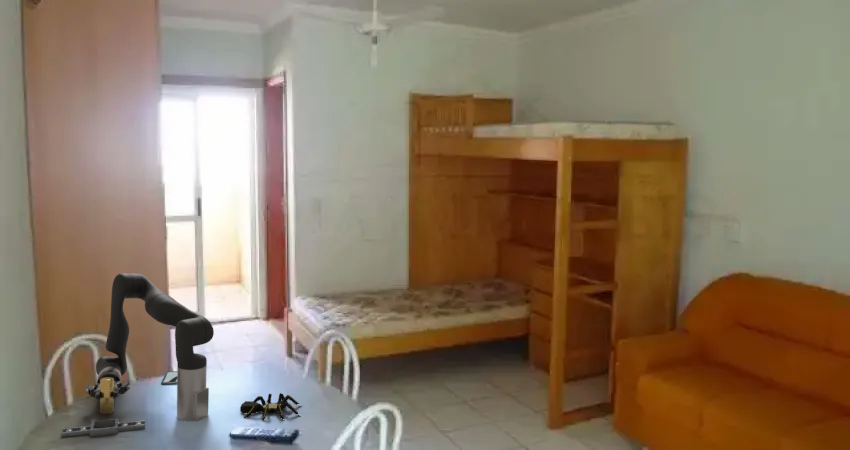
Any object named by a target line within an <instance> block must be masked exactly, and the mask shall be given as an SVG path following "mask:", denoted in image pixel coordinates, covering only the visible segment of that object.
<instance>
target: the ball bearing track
mask: <svg viewBox="0 0 850 450" xmlns="http://www.w3.org/2000/svg"><path fill="white" fill-rule="evenodd" d="M104 426H105V427H104ZM143 429H146V420H144V419H143V420H135V421H134V420H133V421H124V422H119V418H108V419H99V420H92V421H91V425H85V426H76V427H75V426H74V427H64V428H62V432H61V435H60V436H61V438H67V437H76V436H85V435H86V436H87V435H89V436H90V437H98V436H99V435H100V436H107V435H108V434H109V435H117V434H118V432H123V431H133V430H143ZM100 436H99V437H100Z"/></svg>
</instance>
